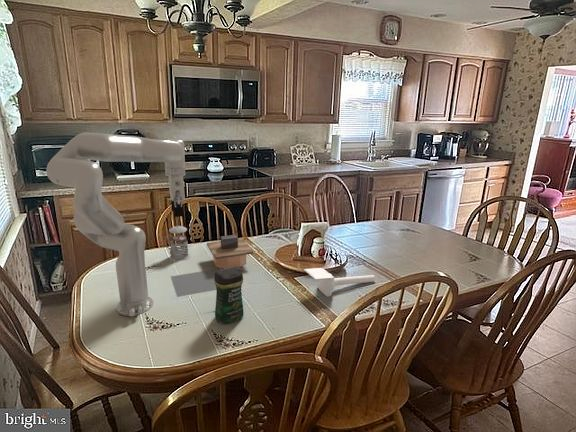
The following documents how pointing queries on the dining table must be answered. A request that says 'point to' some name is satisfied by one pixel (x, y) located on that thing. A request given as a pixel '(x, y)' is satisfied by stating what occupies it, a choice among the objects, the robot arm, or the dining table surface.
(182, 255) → the lantern
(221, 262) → the bowl
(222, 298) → the coffee jar
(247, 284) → the dining table surface
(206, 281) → the mat
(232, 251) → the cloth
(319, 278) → the white mallet
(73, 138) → the robot arm
